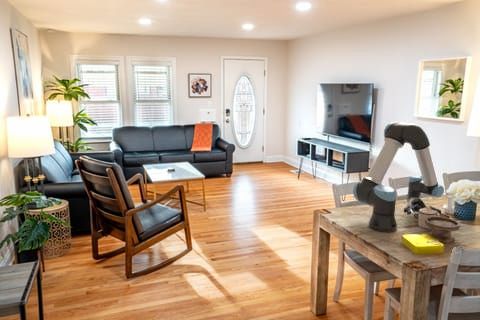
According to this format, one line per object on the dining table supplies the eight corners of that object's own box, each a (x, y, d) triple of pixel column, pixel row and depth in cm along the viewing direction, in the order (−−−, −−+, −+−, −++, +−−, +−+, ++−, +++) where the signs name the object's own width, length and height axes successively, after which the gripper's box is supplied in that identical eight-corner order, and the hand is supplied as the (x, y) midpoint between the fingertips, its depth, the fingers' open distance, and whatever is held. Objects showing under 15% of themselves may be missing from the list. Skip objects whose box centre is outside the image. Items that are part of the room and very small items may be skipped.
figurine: (442, 213, 237) (444, 190, 234) (443, 209, 245) (445, 187, 242) (455, 215, 233) (457, 192, 231) (456, 211, 241) (458, 188, 238)
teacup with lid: (435, 224, 218) (437, 205, 216) (434, 229, 210) (436, 210, 208) (412, 221, 224) (414, 202, 222) (411, 226, 216) (413, 207, 214)
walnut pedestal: (430, 243, 193) (431, 226, 191) (419, 231, 208) (421, 215, 206) (463, 244, 190) (465, 227, 189) (450, 232, 206) (452, 217, 204)
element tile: (427, 241, 196) (428, 232, 195) (445, 253, 181) (446, 244, 180) (399, 242, 195) (400, 233, 194) (415, 255, 180) (416, 245, 179)
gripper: (438, 211, 231) (449, 223, 211) (395, 208, 237) (401, 220, 216) (439, 199, 230) (450, 211, 209) (396, 197, 235) (402, 208, 215)
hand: (425, 215), depth 213 cm, fingers open, 13 cm apart
